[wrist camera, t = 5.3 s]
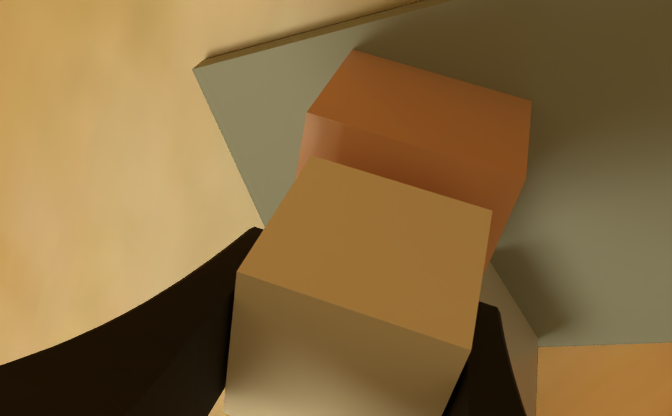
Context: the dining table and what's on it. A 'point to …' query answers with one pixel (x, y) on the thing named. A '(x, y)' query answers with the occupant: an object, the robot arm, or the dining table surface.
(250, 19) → the dining table surface
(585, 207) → the board
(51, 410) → the robot arm
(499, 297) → the grey cube
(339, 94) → the terracotta block
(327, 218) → the cream cube
